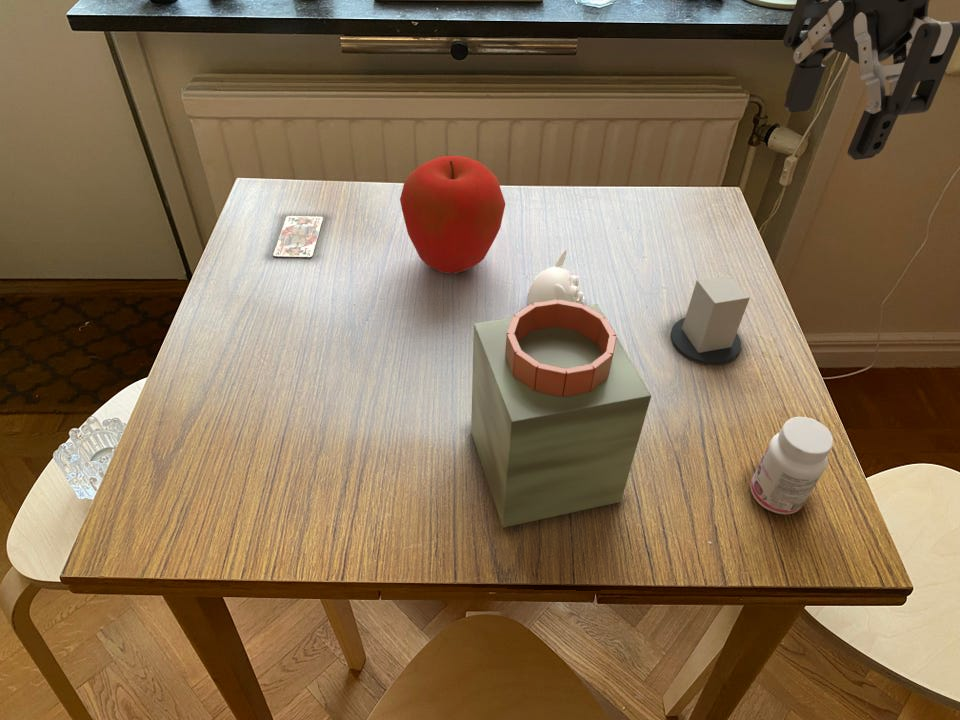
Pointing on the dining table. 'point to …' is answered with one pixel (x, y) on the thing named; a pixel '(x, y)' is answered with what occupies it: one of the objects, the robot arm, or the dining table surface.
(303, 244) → the playing card
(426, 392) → the dining table surface
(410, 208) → the apple
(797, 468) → the pill bottle
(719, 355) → the coaster
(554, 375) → the segmented terracotta ring
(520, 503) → the stand
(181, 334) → the dining table surface
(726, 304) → the block
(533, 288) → the figurine
